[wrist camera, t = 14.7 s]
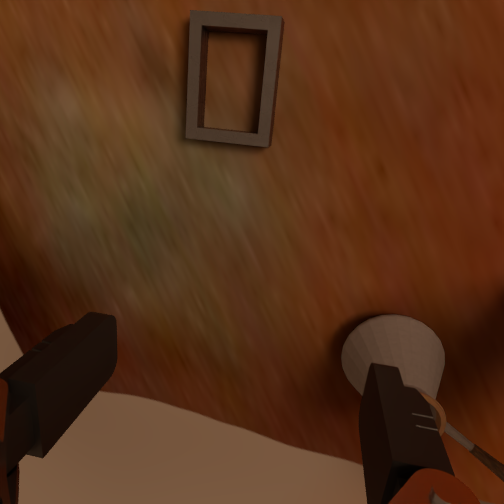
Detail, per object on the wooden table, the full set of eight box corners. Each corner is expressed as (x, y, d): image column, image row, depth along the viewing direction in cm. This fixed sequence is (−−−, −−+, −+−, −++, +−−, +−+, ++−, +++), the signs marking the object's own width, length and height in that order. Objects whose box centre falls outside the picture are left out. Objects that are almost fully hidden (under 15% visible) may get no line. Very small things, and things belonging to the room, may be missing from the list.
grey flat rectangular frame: (284, 22, 39) (281, 16, 37) (271, 145, 43) (268, 147, 41) (197, 16, 40) (190, 10, 38) (192, 137, 44) (185, 138, 42)
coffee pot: (322, 357, 50) (322, 449, 36) (374, 287, 46) (396, 360, 32) (467, 438, 50) (522, 561, 36) (531, 375, 46) (621, 486, 32)
